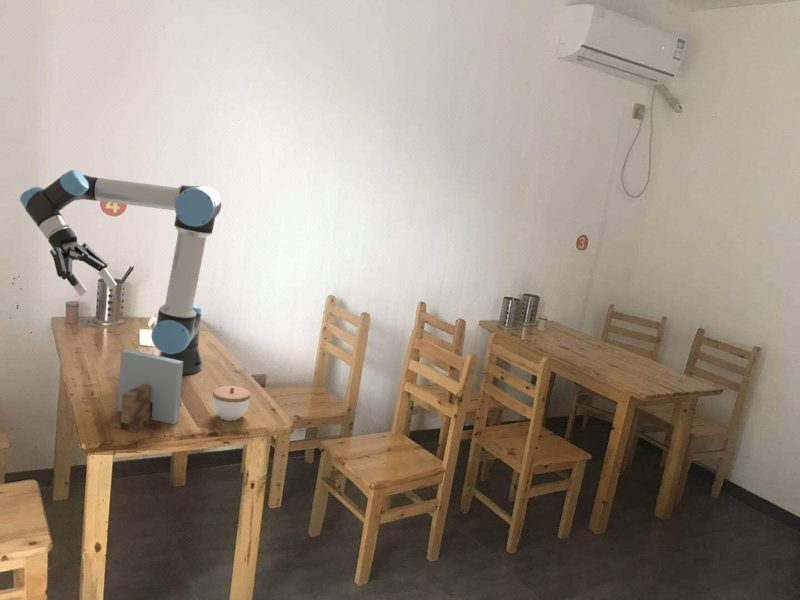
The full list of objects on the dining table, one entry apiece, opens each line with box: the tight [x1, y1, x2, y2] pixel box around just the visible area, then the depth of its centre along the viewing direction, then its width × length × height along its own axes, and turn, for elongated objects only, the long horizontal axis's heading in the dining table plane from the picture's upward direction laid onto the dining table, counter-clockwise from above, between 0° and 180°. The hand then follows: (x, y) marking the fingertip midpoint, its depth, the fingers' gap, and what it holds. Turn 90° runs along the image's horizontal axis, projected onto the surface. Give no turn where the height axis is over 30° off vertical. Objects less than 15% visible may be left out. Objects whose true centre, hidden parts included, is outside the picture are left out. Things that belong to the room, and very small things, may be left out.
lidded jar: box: [212, 385, 251, 422], centre depth 193 cm, size 11×11×9 cm
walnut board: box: [112, 384, 182, 433], centre depth 185 cm, size 22×7×10 cm, turn 167°
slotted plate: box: [117, 348, 183, 425], centre depth 184 cm, size 18×2×18 cm, turn 77°
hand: (99, 290), depth 200 cm, fingers open, 13 cm apart
